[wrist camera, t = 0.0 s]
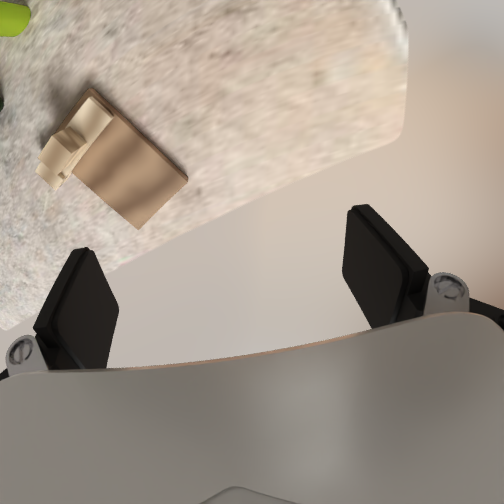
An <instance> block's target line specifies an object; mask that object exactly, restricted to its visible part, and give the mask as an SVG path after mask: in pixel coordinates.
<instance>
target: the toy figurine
mask: <svg viewBox="0 0 504 504" xmlns="http://www.w3.org/2000/svg"><path fill="white" fill-rule="evenodd" d="M3 106H4V103H3V101H2V99H1V98H0V112H1V110H2V109H3Z"/></svg>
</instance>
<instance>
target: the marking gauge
mask: <svg viewBox="0 0 504 504" xmlns="http://www.w3.org/2000/svg"><path fill="white" fill-rule="evenodd" d="M113 118H114V116H113V115H112V114H111V113H110V112H109V111H107V110H106V109H105V108H104V107H103V106H102V105H101V104H100V103H99V102H98V101H97V100H96V99H95V98H94V97H89V98H88V99H87V100H86V101H85V103H84V104H83V105H82V106H81V108H80V109H79V110H78V112H77V113H76V114H75V116H74V117H73V118H72V120H71V121H70V122H69V124H68V125H67V126H66V128H65V129H64V130H62V131H60V132H58V133H56V134H54V135H52V136H51V138H50V139H49V141H48V142H47V144H46V145H45V147H44V149H43V150H42V152H41V153H40V155H39V157H38V159H39V160H40V161H41V162H40V164H39V166H38V167H37V169H36V171H35V172H36V173H37V174H38V175H39V176H40V177H41V178H43V179H44V180H45V181H46V182H47V183H48V184H49V185H50V186H51V187H52V188H53V189H55V190H57V189H58V188H59V187H60V186H61V185H62V184H63V183H64V182H65V181H66V180H67V179H68V177H69V176H70V175H71V173H72V172H71V171H72V170H73V168H74V167H75V165H76V164H77V163H78V161H79V160H80V159H81V157H82V156H83V155H84V153H85V152H86V151H87V150H88V148H89V147H90V146H91V144H92V143H93V142H94V141H95V139H96V138H97V137H98V136H99V134H100V133H101V132H102V131H103V130H104V128H105V127H106V126H107V125H108V124H109V123H110V121H111V120H112V119H113Z"/></svg>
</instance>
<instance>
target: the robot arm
mask: <svg viewBox="0 0 504 504" xmlns="http://www.w3.org/2000/svg"><path fill="white" fill-rule="evenodd" d="M428 270H429V268H428V267H427V265H426V264H425V263H424V262H423V261H422V260H421V259H420V257H419V256H418V255H417V254H416V253H415V252H414V251H413V250H412V249H411V248H410V246H409V245H408V244H407V243H406V242H405V241H404V240H403V239H402V238H401V237H400V236H399V235H398V234H397V233H396V232H395V230H394V229H393V228H392V227H391V226H390V225H389V224H387V222H386V221H385V220H384V219H383V218H382V217H381V216H380V215H378V213H377V212H376V211H375V210H374V209H373V208H372V207H371V206H370V205H368V204H364V205H355V206H353V207H352V209H351V210H349V211H348V213H347V224H346V236H345V247H344V257H343V267H342V274H343V277H344V279H345V281H346V283H347V284H348V286H349V288H350V290H351V292H352V294H353V295H354V297H355V299H356V301H357V302H358V304H359V306H360V308H361V310H362V311H363V313H364V315H365V317H366V319H367V321H368V322H369V324H370V326H371V328H372V329H370V330H366V331H362V332H358V333H353V334H349V335H345V336H341V337H336V338H332V339H328V340H323V341H318V342H314V343H309V344H304V345H300V346H294V347H288V348H283V349H277V350H272V351H266V352H260V353H254V354H248V355H241V356H234V357H227V358H220V359H213V360H205V361H196V362H188V363H178V364H167V365H155V366H143V367H127V368H106V367H107V362H108V357H109V352H110V347H111V343H112V338H113V334H114V330H115V326H116V321H117V318H118V314H119V307H118V304H117V301H116V299H115V297H114V295H113V293H112V291H111V289H110V287H109V284H108V282H107V280H106V278H105V276H104V273H103V271H102V269H101V267H100V264H99V262H98V260H97V257H96V255H95V253H94V251H93V250H90V249H89V248H88V247H84V248H79V249H74V250H73V251H72V252H71V254H70V256H69V257H68V259H67V261H66V263H65V265H64V266H63V268H62V270H61V272H60V274H59V275H58V277H57V279H56V281H55V283H54V285H53V287H52V289H51V291H50V293H49V295H48V297H47V299H46V301H45V303H44V305H43V307H42V309H41V311H40V313H39V315H38V317H37V320H36V322H35V324H34V326H33V329H34V330H35V332H36V333H37V334H36V336H35V337H33V336H31V335H24V336H21V337H20V338H18V339H16V340H15V341H14V342H13V343H12V344H11V346H10V347H9V349H8V351H7V353H6V365H7V369H5V370H4V371H3V372H2V373H0V504H504V310H502V309H499V308H497V307H494V306H491V305H489V304H486V303H483V302H480V301H477V300H475V299H472V298H469V290H468V287H467V285H466V284H465V282H464V281H463V280H462V279H460V278H459V277H457V276H455V275H453V274H450V273H444V272H442V273H436V274H434V275H433V276H431V275H430V274H429V273H428Z"/></svg>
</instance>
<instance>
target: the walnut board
mask: <svg viewBox="0 0 504 504" xmlns="http://www.w3.org/2000/svg"><path fill="white" fill-rule="evenodd" d="M89 97H94V98H95V99H96V100H97V101H98V102H99V103H100V104H101V105H102V106H103V107H104V108H105V109H106V110H107V111H109V112H110V113H111V114H112V115H113V116H114V118H113V119H112V120H111V121H110V123H109V124H108V125H107V126H106V127H105V128H104V130H103V131H102V132H101V133H100V134H99V136H98V137H97V138H96V139H95V141H94V142H93V143H92V144H91V146H90V147H89V148H88V150H87V151H86V152H85V153H84V155H83V156H82V157H81V159H80V160H79V161H78V163H77V164H76V165H75V167H74V168H73V170H72V171H71V172H72V173H73V174H74V175H75V176H76V177H78V178H79V179H80V180H81V181H82V182H83V183H84V184H85V185H86V186H88V187H89V188H90V189H91V190H92V191H93V192H94V193H95V194H97V195H98V196H99V197H100V198H101V199H102V200H103V201H105V202H106V203H107V204H108V205H109V206H110V207H112V208H113V209H114V210H115V211H116V212H117V213H119V214H120V215H121V216H122V217H123V218H124V219H126V220H127V221H128V222H129V223H130V224H132V225H133V226H134V227H135V228H136V229H138V230H139V229H140V228H141V227H142V226H143V225H144V224H145V223H146V222H147V221H148V220H149V219H150V218H151V217H152V216H153V215H154V214H155V213H156V212H157V211H158V210H159V209H160V208H161V207H162V206H163V205H164V204H165V203H166V202H167V201H168V200H169V199H170V198H171V197H172V196H173V195H175V194H176V193H177V192H178V191H179V190H180V189H181V188H182V187H183V186H184V185H185V184H186V183H187V182H188V177H187V176H186V175H185V174H184V173H183V172H181V171H180V170H179V169H178V168H177V167H176V166H175V165H174V164H173V163H172V162H171V161H170V160H169V159H168V158H167V157H166V156H165V155H164V154H163V153H161V152H160V151H159V150H158V149H157V148H156V147H155V146H154V145H153V144H152V143H151V142H150V141H149V140H148V139H147V138H146V137H145V136H143V135H142V134H141V133H140V132H139V131H138V130H137V129H136V128H135V127H134V126H133V125H132V124H131V123H130V122H129V121H128V120H126V119H125V118H124V117H123V116H122V115H121V114H120V113H119V112H118V111H117V110H116V109H115V108H114V107H113V106H112V105H110V104H109V103H108V102H107V101H106V100H105V99H104V98H103V97H102V96H101V95H100V94H99V93H98V92H97V91H95V90H94V89H93V88H90V89H88V90H87V91H86V92H85V93H84V95H83V96H82V97H81V98H80V100H79V101H78V102H77V103H76V105H75V106H74V107H73V109H72V110H71V111H70V113H69V114H68V115H67V117H66V118H65V119H64V121H63V122H62V124H61V125H60V126H59V128H58V129H57V131H56V132H55V134H56V133H58V132H60V131H62V130H64V129H65V128H66V126H67V125H68V124H69V122H70V121H71V120H72V118H73V117H74V116H75V114H76V113H77V112H78V110H79V109H80V108H81V106H82V105H83V104H84V103H85V101H86V100H87V99H88V98H89Z"/></svg>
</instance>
